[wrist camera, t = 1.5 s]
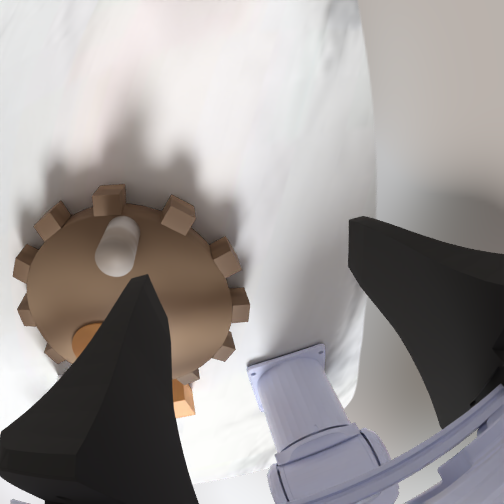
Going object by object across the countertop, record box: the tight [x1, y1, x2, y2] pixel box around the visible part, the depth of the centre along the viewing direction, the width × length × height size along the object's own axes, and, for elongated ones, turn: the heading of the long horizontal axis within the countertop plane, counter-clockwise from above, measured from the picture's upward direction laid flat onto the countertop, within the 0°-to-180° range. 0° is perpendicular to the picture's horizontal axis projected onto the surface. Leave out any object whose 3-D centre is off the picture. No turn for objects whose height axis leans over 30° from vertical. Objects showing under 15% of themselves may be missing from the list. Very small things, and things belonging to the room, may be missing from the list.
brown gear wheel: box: [13, 184, 250, 385], centre depth 18 cm, size 17×17×5 cm
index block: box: [172, 379, 195, 418], centre depth 25 cm, size 3×2×3 cm, turn 10°
